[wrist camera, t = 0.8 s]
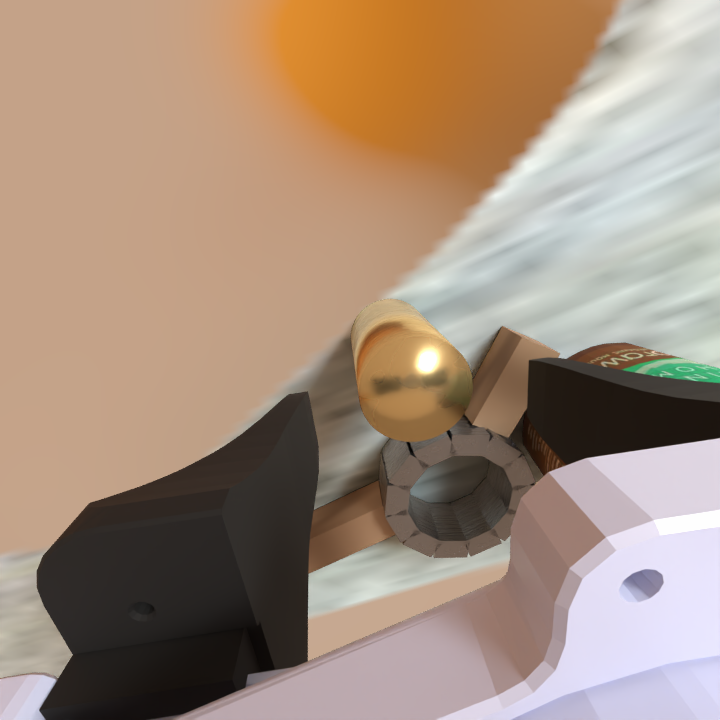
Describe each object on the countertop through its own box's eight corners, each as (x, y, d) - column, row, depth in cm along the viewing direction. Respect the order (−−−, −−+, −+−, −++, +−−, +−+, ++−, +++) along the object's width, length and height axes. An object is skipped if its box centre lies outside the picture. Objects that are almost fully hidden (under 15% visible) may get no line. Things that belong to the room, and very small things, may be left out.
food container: (703, 290, 20) (1041, 347, 10) (702, 390, 22) (982, 513, 12) (479, 362, 20) (605, 477, 11) (499, 452, 22) (619, 615, 13)
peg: (430, 300, 19) (480, 338, 12) (422, 373, 20) (464, 442, 14) (352, 297, 19) (361, 334, 12) (349, 371, 20) (356, 441, 13)
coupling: (539, 327, 20) (574, 343, 17) (491, 552, 25) (510, 594, 22) (254, 317, 19) (239, 334, 16) (265, 556, 24) (256, 600, 21)
